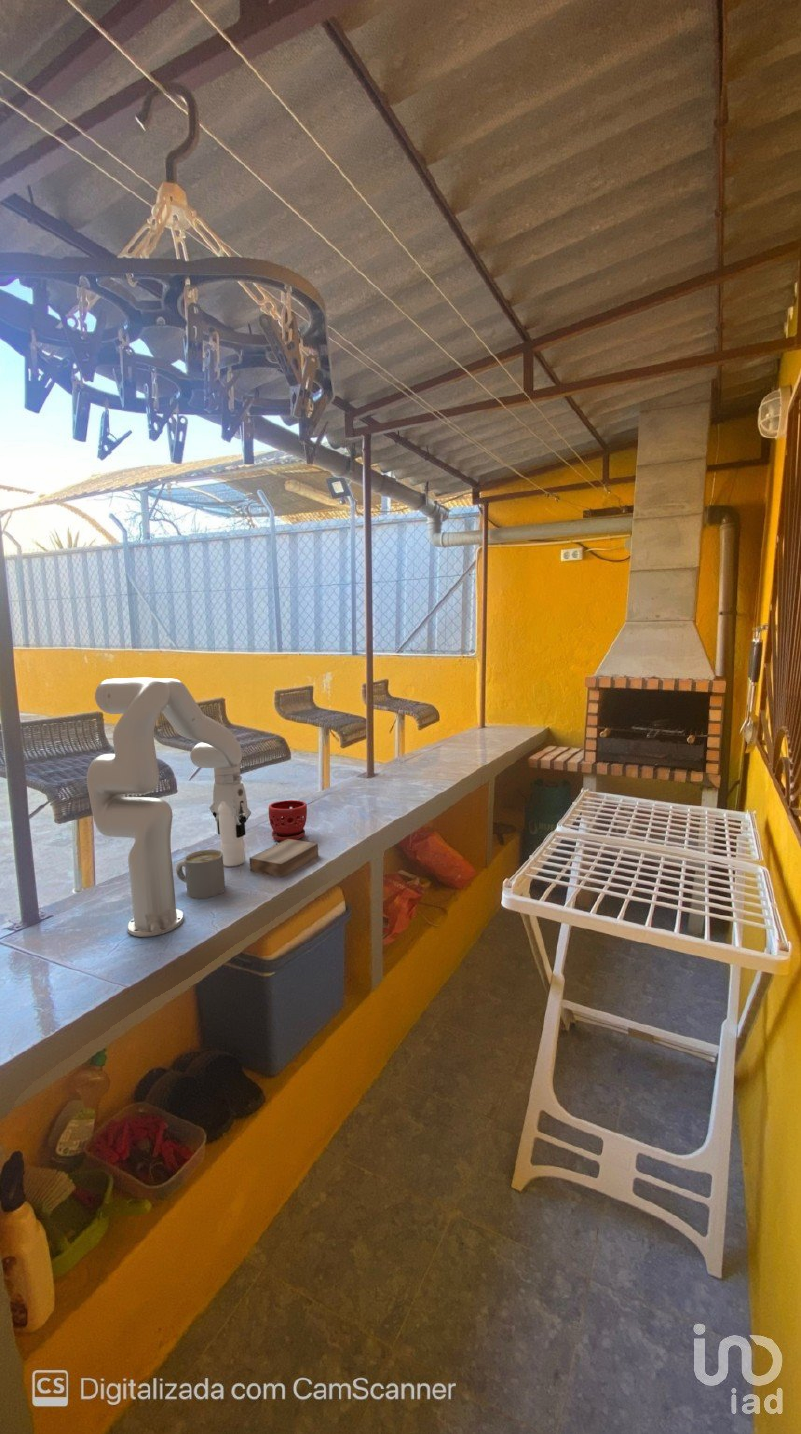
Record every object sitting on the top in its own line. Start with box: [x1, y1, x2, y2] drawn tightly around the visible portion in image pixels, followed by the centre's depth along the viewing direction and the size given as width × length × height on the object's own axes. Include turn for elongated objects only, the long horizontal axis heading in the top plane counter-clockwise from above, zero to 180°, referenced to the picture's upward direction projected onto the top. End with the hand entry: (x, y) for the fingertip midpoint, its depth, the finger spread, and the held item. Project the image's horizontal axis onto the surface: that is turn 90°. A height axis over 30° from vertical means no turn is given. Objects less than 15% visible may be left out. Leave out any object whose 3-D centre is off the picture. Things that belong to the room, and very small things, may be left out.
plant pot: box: [268, 799, 308, 842], centre depth 196 cm, size 13×13×12 cm
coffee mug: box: [176, 849, 226, 899], centre depth 155 cm, size 13×10×10 cm
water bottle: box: [218, 801, 246, 868], centre depth 173 cm, size 7×7×25 cm
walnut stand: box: [248, 839, 319, 878], centre depth 173 cm, size 12×18×4 cm, turn 153°
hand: (231, 834), depth 173 cm, fingers closed on water bottle, 7 cm apart
